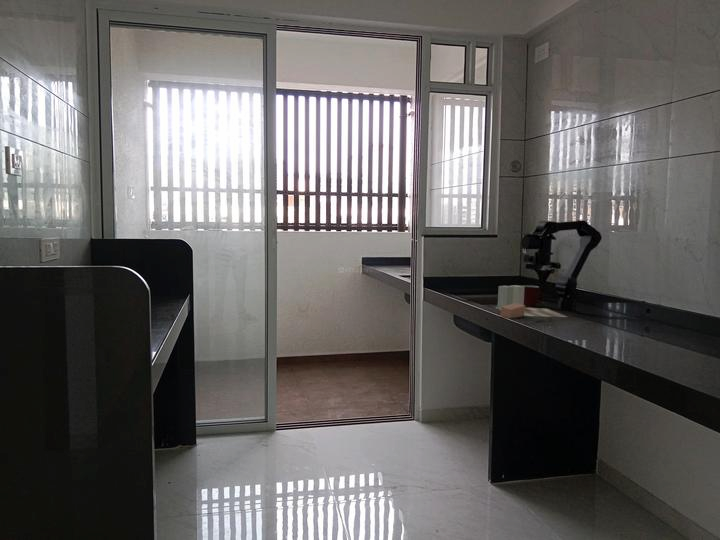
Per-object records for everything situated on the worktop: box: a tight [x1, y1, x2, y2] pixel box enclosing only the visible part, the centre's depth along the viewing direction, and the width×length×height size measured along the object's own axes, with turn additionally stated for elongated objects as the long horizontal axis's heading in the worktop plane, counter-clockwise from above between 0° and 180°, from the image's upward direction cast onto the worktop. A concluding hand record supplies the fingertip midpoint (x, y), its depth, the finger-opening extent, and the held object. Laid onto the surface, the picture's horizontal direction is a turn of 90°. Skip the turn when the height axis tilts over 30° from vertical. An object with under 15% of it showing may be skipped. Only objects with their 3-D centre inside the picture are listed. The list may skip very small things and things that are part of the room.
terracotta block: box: [499, 303, 526, 319], centre depth 227 cm, size 4×4×10 cm
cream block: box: [510, 284, 525, 305], centre depth 250 cm, size 4×4×10 cm
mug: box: [522, 284, 545, 307], centre depth 261 cm, size 10×8×10 cm
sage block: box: [496, 285, 514, 310], centre depth 247 cm, size 4×4×10 cm
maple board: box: [494, 306, 568, 318], centre depth 242 cm, size 24×23×1 cm
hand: (541, 285), depth 247 cm, fingers closed
